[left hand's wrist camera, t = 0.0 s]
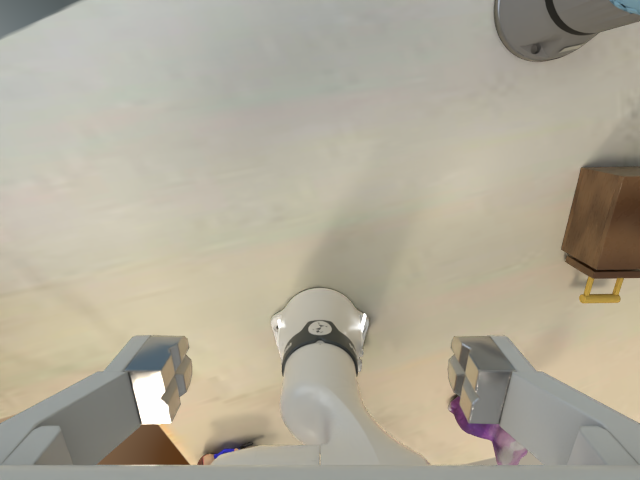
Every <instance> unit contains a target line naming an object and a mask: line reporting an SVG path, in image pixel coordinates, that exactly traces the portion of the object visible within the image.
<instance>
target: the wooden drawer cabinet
mask: <svg viewBox="0 0 640 480" xmlns="http://www.w3.org/2000/svg"><path fill="white" fill-rule="evenodd" d="M561 250H563V251H564V252H566V253H568V254H570V255H571V256H573V257H575V258H577V259H578V260H580V261H582V262H584V263H585V264H587V265H589V266H591V267H592V268H594V269H596V270H618V269H640V166H639V167H582V168H581V171H580V175H579V179H578V183H577V187H576V191H575V195H574V199H573V203H572V207H571V211H570V215H569V219H568V224H567V228H566V232H565V236H564V240H563V244H562V248H561Z"/></svg>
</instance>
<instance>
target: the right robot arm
mask: <svg viewBox="0 0 640 480" xmlns="http://www.w3.org/2000/svg"><path fill="white" fill-rule="evenodd" d="M494 19H495V25H496V29H497V32H498V35H499V37H500V39H501V41H502V42H503V44H504V45H505V47H506V48H507V49H508V50H509V51H510V52H511V53H513V54H514V55H515V56H517V57H519V58H521V59H524V60H527V61H534V62H542V61H548V60H553V59H557V58H560V57H563V56H565V55H567V54H569V53H571V52H573V51H575V50H577V49H578V48H580V47H581V46H583V45H584V44H585V43H587V42H588V41H589V40H591V39H592V38H593V37H594V36H596V35H597V34H598V33H599V32H603V31H606V30H610V29H613V28H617V27H620V26H624V25H627V24H631V23H635V22H638V21H640V0H495V5H494Z"/></svg>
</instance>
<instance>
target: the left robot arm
mask: <svg viewBox="0 0 640 480" xmlns="http://www.w3.org/2000/svg"><path fill="white" fill-rule="evenodd" d="M271 326H272V330H273V333H274V336H275V340H276V343H277V347H278V350H279V354H280V357H281V360H282V375H283V383H282V391H281V398H280V413H281V416H282V419H283V421H284V423H285V425H286V427H287V428H288V430H289V431H290V432H291V434H292V435H293V436H294V437H295V438H296V439H297V440H299V441H300V442H302V443H303V444H305V445H260V446H255V447H250V448H245V449H241V450H237V451H233V452H229V453H225V454H221V455H219V456H218V457H217V458H216V459H215V460H214V461H213V462H212V463H211V464H210V465H96V464H98V463H99V462H100V461H101V460H102V459H103V458H104V457H106V456H107V455H108V454H109V453H110V452H111V451H112V450H114V449H115V448H116V447H117V446H118V445H119V444H121V443H122V442H123V441H124V440H125V439H126V438H127V437H129V436H130V435H131V434H132V433H133V432H134V431H135V430H137V429H138V428H139V427H140V426H141V425H140V424H165V423H172V421H173V419H174V417H175V415H176V413H177V411H178V409H179V407H180V405H181V403H180V396H182V395H183V394H184V393H186V392H187V390H188V388H189V385H190V382H191V377H192V361H191V359H190V358H189V357H188V356H187V355H186V353H187V351H188V349H189V344H188V339H187V338H186V337H185V336H158V335H153V336H151V335H136V336H134V337H132V338H131V339H130V340H129V342H128V343H127V344H126V345H125V346H124V347H123V349H122V350H121V351H120V352H119V353H118V355H117V356H116V357H115V358H114V359H113V361H112V362H111V363H110V364H109V365H108V366H107V368H106V369H105V370H104V371H103V372H96V373H94V374H92V375H91V376H89V377H87V378H85V379H83V380H81V381H79V382H77V383H75V384H74V385H72V386H70V387H68V388H66V389H64V390H62V391H60V392H59V393H57V394H55V395H53V396H51V397H49V398H47V399H45V400H43V401H42V402H40V403H38V404H36V405H34V406H32V407H30V408H28V409H26V410H25V411H23V412H21V413H19V414H17V415H15V416H13V417H11V418H10V419H8V420H6V421H4V422H2V423H0V480H640V423H638V422H636V421H634V420H632V419H630V418H628V417H626V416H625V415H623V414H621V413H619V412H617V411H615V410H613V409H611V408H610V407H608V406H606V405H604V404H602V403H600V402H598V401H596V400H595V399H593V398H591V397H589V396H587V395H585V394H583V393H581V392H579V391H578V390H576V389H574V388H572V387H570V386H568V385H566V384H564V383H563V382H561V381H559V380H557V379H555V378H553V377H551V376H549V375H548V374H546V373H544V372H537V371H536V370H535V369H534V368H533V366H532V365H531V364H530V363H529V362H528V361H527V359H526V358H525V357H524V356H523V355H522V353H521V352H520V351H519V350H518V349H517V348H516V346H515V345H514V344H513V343H512V342H511V340H510V339H509V338H508V337H506V336H504V335H492V336H454V338H453V340H452V343H451V349H452V351H453V353H454V355H453V356H452V357H451V358H450V359H449V362H448V378H449V382H450V385H451V388H452V390H453V392H454V393H456V394H457V395H458V396H460V403H459V405H460V407H461V409H462V411H463V413H464V415H465V417H466V419H467V421H468V423H474V424H499V426H500V427H501V428H502V429H504V430H505V431H506V432H507V433H508V434H509V435H510V436H512V437H513V438H514V439H515V440H516V441H517V442H518V443H520V444H521V445H522V446H523V447H524V448H525V449H526V450H528V451H529V452H530V453H531V454H532V455H533V456H535V457H536V458H537V459H538V460H539V461H540V462H541V463H543V464H544V465H430V463H429V462H428V461H427V460H426V459H425V458H424V457H423V456H422V455H421V454H419V453H417V452H415V451H413V450H411V449H409V448H408V447H406V446H404V445H403V444H401V443H399V442H398V441H397V440H395V439H394V438H393V437H391V436H390V435H389V434H388V433H387V432H385V431H384V430H383V429H382V428H381V427H380V426H379V425H378V424H377V423H376V421H375V420H374V419H373V418H372V417H371V415H370V414H369V413H368V411H367V410H366V408H365V406H364V404H363V402H362V399H361V395H360V391H359V387H358V381H357V375H358V372H360V371H361V368H362V360H361V359H359V357H362V356H363V349H362V347H363V343H364V340H365V336H366V333H367V330H368V326H369V318H368V317H367V316H366V314H363V313H362V312H360V311H358V310H357V309H356V308H355V307H354V305H353V304H352V302H351V301H350V300H349V299H348V298H347V297H346V296H344V295H343V294H341V293H339V292H337V291H335V290H332V289H327V288H313V289H308V290H305V291H303V292H301V293H299V294H297V295H296V296H294V297H293V298H292V299H291V300H290V301H289V302H288V304H287V305H286V307H285V308H284V309H283V310H282V311H280V312H278V313H277V314H275V315H274V316H273V317H272V318H271ZM277 326H279V327H277ZM319 454H320V455H321V465H319Z"/></svg>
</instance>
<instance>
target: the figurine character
mask: <svg viewBox="0 0 640 480" xmlns="http://www.w3.org/2000/svg"><path fill="white" fill-rule="evenodd" d="M252 444H253V443H248V444H245V445H242V446H240V447H239V448H240V449H238V448H235V449H223V450H222V451H221V452H220V453H218V454H206V455H204V456H203V457H202V458H201V459H200V460H199V462H198V464H197V465H210V464H211V463H212V462H213V461H214V460H215V459H216V458H217V457H218V456H219V455H221V454H224V453H229V452H233V451H237V450H241V449H245V447H246V448H250V447H255V446H250V445H252ZM247 446H249V447H247Z"/></svg>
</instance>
